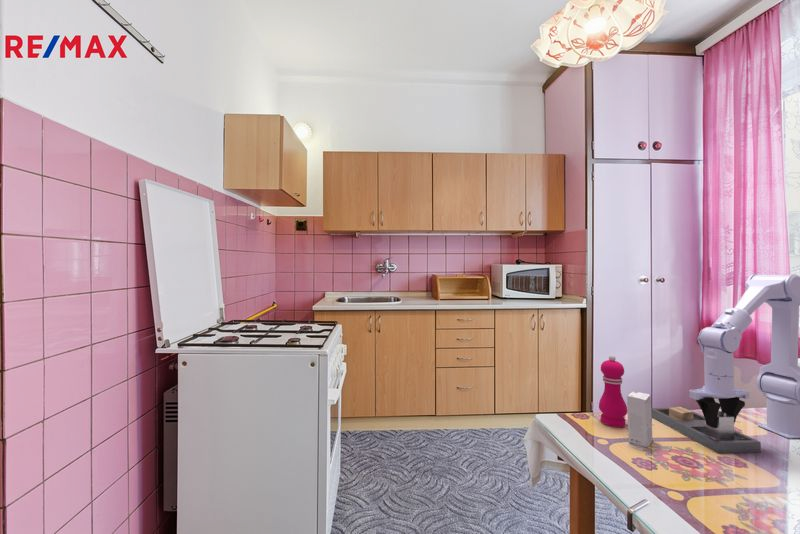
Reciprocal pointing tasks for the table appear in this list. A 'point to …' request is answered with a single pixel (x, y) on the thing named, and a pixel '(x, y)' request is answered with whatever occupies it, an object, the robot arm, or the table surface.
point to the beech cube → (680, 413)
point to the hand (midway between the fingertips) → (719, 426)
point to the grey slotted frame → (697, 433)
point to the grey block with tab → (722, 428)
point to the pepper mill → (612, 394)
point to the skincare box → (639, 418)
